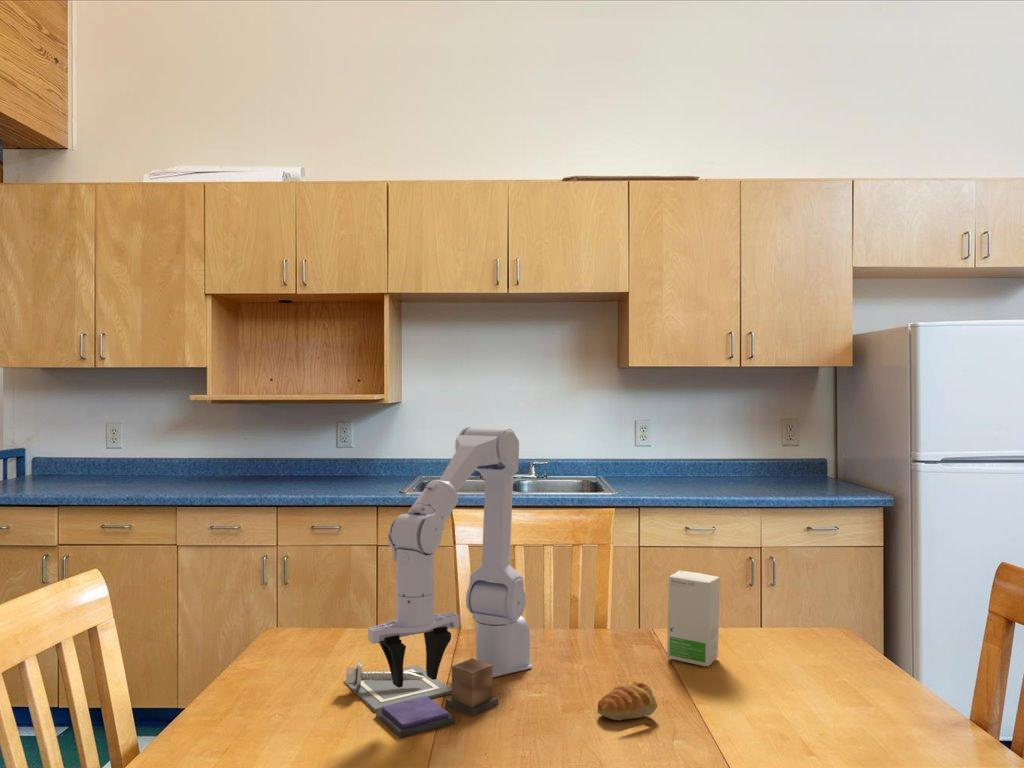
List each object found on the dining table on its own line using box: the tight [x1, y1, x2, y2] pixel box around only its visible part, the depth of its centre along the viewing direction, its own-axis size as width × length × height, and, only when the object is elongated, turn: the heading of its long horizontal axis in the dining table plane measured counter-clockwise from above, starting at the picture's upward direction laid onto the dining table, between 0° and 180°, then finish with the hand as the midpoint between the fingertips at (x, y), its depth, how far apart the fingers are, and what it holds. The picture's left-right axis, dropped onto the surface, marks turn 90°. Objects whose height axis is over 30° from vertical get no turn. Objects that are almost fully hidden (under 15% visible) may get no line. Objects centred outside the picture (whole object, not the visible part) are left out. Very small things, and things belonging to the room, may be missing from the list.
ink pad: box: [375, 696, 456, 739], centre depth 118 cm, size 9×9×2 cm
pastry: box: [596, 681, 658, 721], centre depth 120 cm, size 9×7×4 cm
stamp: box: [445, 658, 499, 718], centre depth 123 cm, size 6×6×6 cm
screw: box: [345, 660, 424, 692], centre depth 129 cm, size 13×5×5 cm, turn 101°
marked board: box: [343, 664, 452, 713], centre depth 130 cm, size 14×14×1 cm
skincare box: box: [666, 569, 721, 667], centre depth 145 cm, size 8×7×16 cm
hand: (414, 681), depth 118 cm, fingers open, 5 cm apart
